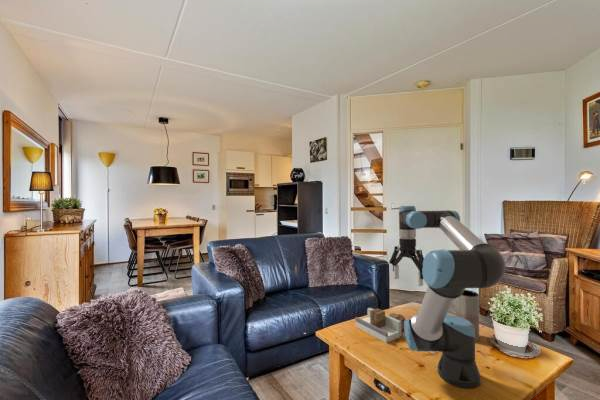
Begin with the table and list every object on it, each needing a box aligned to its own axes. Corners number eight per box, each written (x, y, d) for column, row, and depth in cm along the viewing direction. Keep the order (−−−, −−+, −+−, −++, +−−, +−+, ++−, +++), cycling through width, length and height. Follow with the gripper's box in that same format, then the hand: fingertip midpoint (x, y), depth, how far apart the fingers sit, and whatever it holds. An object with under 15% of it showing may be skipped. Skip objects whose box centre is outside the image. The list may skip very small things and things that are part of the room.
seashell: (381, 324, 161) (388, 307, 163) (392, 330, 164) (399, 314, 166) (393, 332, 151) (401, 314, 153) (405, 338, 154) (412, 321, 156)
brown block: (385, 326, 154) (385, 311, 154) (376, 329, 150) (375, 314, 150) (378, 322, 158) (378, 308, 158) (369, 325, 155) (368, 311, 155)
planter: (482, 342, 142) (482, 296, 141) (461, 340, 143) (460, 295, 143) (473, 332, 151) (473, 290, 151) (453, 331, 153) (453, 289, 153)
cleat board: (401, 336, 148) (401, 321, 148) (386, 342, 142) (386, 327, 142) (370, 321, 167) (369, 307, 167) (355, 326, 161) (355, 312, 161)
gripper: (436, 240, 128) (437, 287, 129) (391, 234, 149) (392, 274, 150) (426, 241, 124) (426, 290, 125) (381, 235, 145) (382, 277, 146)
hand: (408, 282), depth 137 cm, fingers open, 13 cm apart
